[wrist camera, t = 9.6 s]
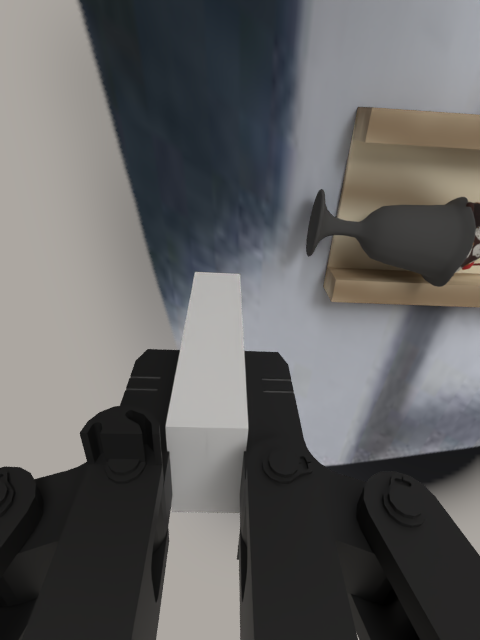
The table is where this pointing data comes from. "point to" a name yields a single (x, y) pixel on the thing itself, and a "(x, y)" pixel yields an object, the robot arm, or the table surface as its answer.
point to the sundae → (409, 236)
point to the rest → (404, 200)
